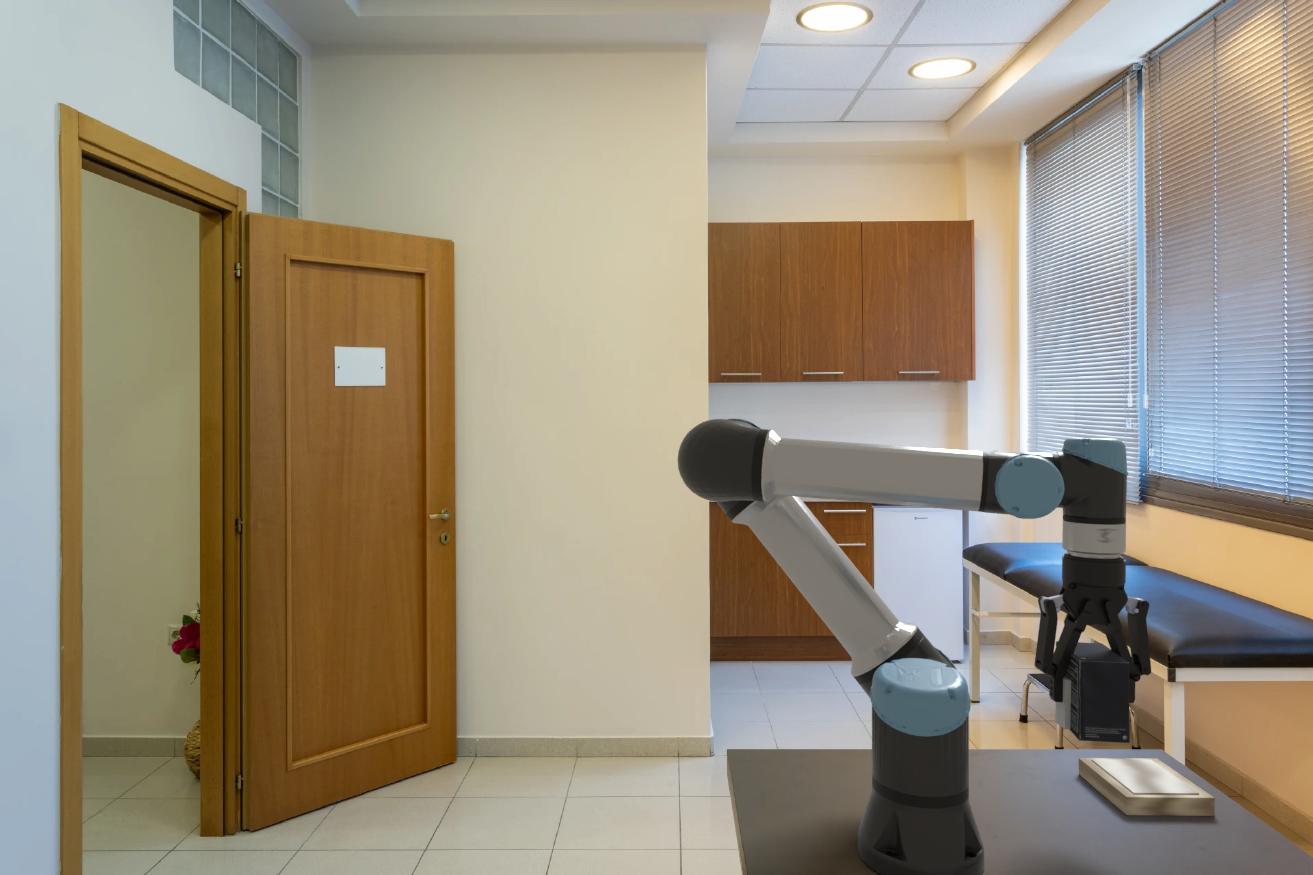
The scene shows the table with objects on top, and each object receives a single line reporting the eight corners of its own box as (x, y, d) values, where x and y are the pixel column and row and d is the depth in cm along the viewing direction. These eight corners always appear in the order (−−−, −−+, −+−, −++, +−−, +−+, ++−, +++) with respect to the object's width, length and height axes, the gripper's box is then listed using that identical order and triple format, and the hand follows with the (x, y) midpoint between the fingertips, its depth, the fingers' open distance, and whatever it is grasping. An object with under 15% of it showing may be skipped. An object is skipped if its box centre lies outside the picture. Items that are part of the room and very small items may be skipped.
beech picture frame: (1126, 814, 117) (1126, 795, 117) (1078, 773, 131) (1078, 756, 131) (1214, 815, 116) (1214, 796, 116) (1156, 774, 130) (1156, 756, 130)
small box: (1134, 744, 106) (1132, 661, 106) (1079, 742, 107) (1077, 660, 107) (1105, 716, 116) (1103, 640, 116) (1054, 714, 117) (1053, 639, 117)
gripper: (1030, 557, 108) (1028, 735, 108) (1186, 558, 107) (1183, 737, 108) (1007, 548, 115) (1005, 715, 116) (1153, 550, 115) (1150, 717, 115)
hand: (1091, 725), depth 112 cm, fingers closed on small box, 7 cm apart
